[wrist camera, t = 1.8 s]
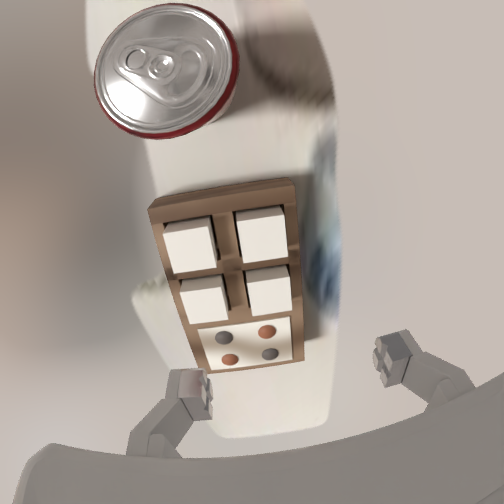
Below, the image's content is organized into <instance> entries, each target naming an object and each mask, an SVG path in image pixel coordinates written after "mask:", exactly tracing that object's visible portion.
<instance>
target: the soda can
mask: <svg viewBox="0 0 504 504" xmlns="http://www.w3.org/2000/svg"><path fill="white" fill-rule="evenodd" d="M239 61H240V56H239V52H238V47H237V43H236V41H235V39H234V37H233V35H232V32H231V31H230V30H229V28H228V27H227V26H226V25H225V23H224V22H223V21H222V20H221V19H219V18H218V17H217V16H216V15H214V14H213V13H211V12H209V11H207V10H205V9H203V8H201V7H198V6H194V5H190V4H183V3H167V4H160V5H155V6H152V7H149V8H146V9H143V10H141V11H139V12H137V13H135V14H134V15H132V16H130V17H129V18H127V19H126V20H125V21H123V22H122V23H121V24H120V25H118V27H117V28H116V29H115V30H114V31H113V32H112V33H111V34H110V35H109V37H108V38H107V40H106V41H105V43H104V44H103V46H102V48H101V50H100V53H99V55H98V58H97V60H96V65H95V70H94V88H95V93H96V98H97V100H98V102H99V105H100V107H101V109H102V111H103V112H104V113H105V115H106V116H107V117H108V119H109V120H110V121H111V122H112V123H113V124H115V125H116V126H117V127H118V128H119V129H121V130H123V131H125V132H127V133H129V134H131V135H134V136H137V137H140V138H144V139H154V140H160V139H171V138H175V137H179V136H182V135H186V134H188V133H190V132H192V131H194V130H196V129H199V128H201V127H203V126H205V125H207V124H210V123H212V122H214V121H215V120H217V119H218V118H220V117H221V116H222V115H223V114H224V113H225V112H226V110H227V109H228V108H229V106H230V105H231V103H232V100H233V98H234V95H235V90H236V85H237V80H238V75H239Z"/></svg>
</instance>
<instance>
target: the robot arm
mask: <svg viewBox="0 0 504 504" xmlns="http://www.w3.org/2000/svg"><path fill="white" fill-rule="evenodd" d="M375 345H376V348H375V349H374V351H373V362H374V366H375V368H376V370H377V371H379V372H381V374H380V379H381V381H382V383H383V385H384V387H390V386H393V385H397V384H400V383H402V385H404V386H405V387H407V388H408V389H409V390H411V391H412V392H413V393H415V394H416V395H418V396H419V397H421V398H422V399H423V400H425V401H426V402H428V403H429V404H428V405H427V407H426V409H425V411H424V413H421V414H419V415H416V416H414V417H411V418H408V419H406V420H403V421H400V422H397V423H395V424H392V425H389V426H385V427H382V428H379V429H376V430H373V431H370V432H366V433H363V434H360V435H356V436H352V437H348V438H344V439H341V440H337V441H332V442H328V443H323V444H319V445H314V446H309V447H304V448H299V449H292V450H286V451H280V452H273V453H265V454H257V455H247V456H235V457H221V458H182V457H181V456H180V454H179V453H178V452H177V451H176V450H175V448H176V447H177V446H178V444H179V443H180V441H181V440H182V438H183V437H184V435H185V434H186V433H187V431H188V430H189V428H190V427H191V425H192V424H193V421H200V420H212V413H213V407H212V405H211V401H212V400H213V390H212V384H211V381H210V379H209V378H207V371H206V368H191V369H174V370H171V371H170V373H169V379H168V384H167V390H166V396H165V399H162V400H161V401H160V402H159V403H158V404H157V405H156V406H155V407H154V408H153V409H152V410H151V411H150V412H149V413H148V414H147V415H146V416H145V417H144V418H143V420H142V421H140V422H139V424H138V425H137V426H136V427H135V428H134V429H133V430H132V431H131V432H130V436H129V441H128V446H127V451H126V455H118V454H111V453H104V452H97V451H90V450H85V449H79V448H74V447H69V446H65V445H61V444H56V443H51V444H48V445H47V446H45V447H44V448H42V449H41V450H39V451H38V452H37V453H36V454H35V455H34V456H32V457H31V458H30V459H29V460H28V461H27V463H26V465H25V467H24V469H23V471H22V473H21V476H20V479H19V482H18V485H17V489H16V492H15V496H14V500H13V503H12V504H504V372H503V373H502V374H500V375H498V376H497V377H495V378H493V379H491V380H490V381H488V382H486V383H484V384H483V385H481V386H479V387H477V388H476V387H475V386H474V384H473V383H472V381H471V380H470V378H469V377H468V375H467V374H466V372H465V371H464V370H463V369H461V368H459V367H456V366H454V365H452V364H450V363H448V362H446V361H444V360H442V359H440V358H438V357H436V356H434V355H431V354H430V353H427V352H422V350H421V348H420V347H419V345H418V344H417V343H416V341H415V340H414V338H413V337H412V335H411V334H410V332H409V331H408V330H407V329H405V330H402V331H399V332H395V333H391V334H388V335H384V336H380V337H377V338H376V340H375Z"/></svg>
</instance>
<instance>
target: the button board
mask: <svg viewBox="0 0 504 504" xmlns="http://www.w3.org/2000/svg"><path fill="white" fill-rule="evenodd" d="M273 205H280V207H281V209H282V211H283V213H284V218H285V229H286V240H287V251H288V257H283V258H277V259H270V260H263V261H257V262H250V263H243V257H242V251H241V245H240V239H239V233H238V227H237V219H236V211H239V210H246V209H252V208H259V207H266V206H273ZM147 210H148V214H149V218H150V222H151V225H152V229H153V233H154V236H155V240H156V243H157V247H158V250H159V254H160V257H161V261H162V264H163V267H164V270H165V274H166V277H167V280H168V283H169V286H170V289H171V293H172V296H173V299H174V302H175V305H176V308H177V310H178V313H179V316H180V319H181V322H182V325H183V328H184V330H185V333H186V336H187V339H188V341H189V344H190V347H191V349H192V352H193V355H194V357H195V360H196V362H197V365H198V368H206V371H207V374H212V373H222V372H231V371H240V370H248V369H255V368H263V367H269V366H276V365H282V364H288V363H294V362H300V361H305V360H304V325H303V300H302V280H301V262H300V247H299V233H298V219H297V207H296V195H295V185H294V184H293V183H292V182H291V181H290V179H289V178H288V177H287V178H279V179H271V180H264V181H257V182H250V183H243V184H236V185H230V186H223V187H217V188H211V189H205V190H199V191H194V192H188V193H183V194H177V195H172V196H167V197H162V198H157V199H155V200H154V202H153V203H152V204H151V205H150V206H149V208H148V209H147ZM208 215H210V218H211V223H212V228H213V233H214V238H215V243H216V248H217V253H218V255H217V268H210V269H203V270H196V271H189V272H182V273H175V274H174V272H173V269H172V266H171V262H170V259H169V255H168V252H167V248H166V244H165V241H164V237H163V232H164V230H165V228H166V226H167V224H168V222H173V221H179V220H184V219H190V218H196V217H202V216H208ZM281 264H286V267H287V270H288V273H289V276H290V287H291V301H292V310H291V311H284V312H278V313H272V314H265V315H259V316H252V310H251V304H250V298H249V292H248V287H247V279H246V270H248V269H255V268H262V267H268V266H275V265H281ZM221 273H222V277H223V281H224V286H225V291H226V295H227V300H228V320H222V321H214V322H206V323H197V324H190V323H189V320H188V317H187V314H186V311H185V308H184V305H183V302H182V299H181V295H180V289H181V285H182V281H183V279H186V278H193V277H200V276H207V275H214V274H221Z"/></svg>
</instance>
